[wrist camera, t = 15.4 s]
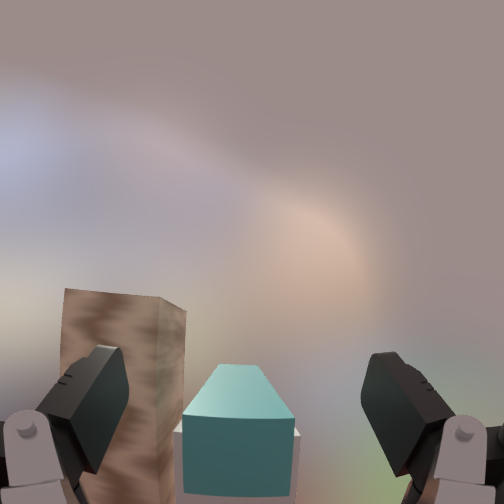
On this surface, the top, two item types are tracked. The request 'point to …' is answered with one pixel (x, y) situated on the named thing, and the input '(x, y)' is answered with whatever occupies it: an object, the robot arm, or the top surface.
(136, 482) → the stand
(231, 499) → the white tall block
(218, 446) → the teal long bar
